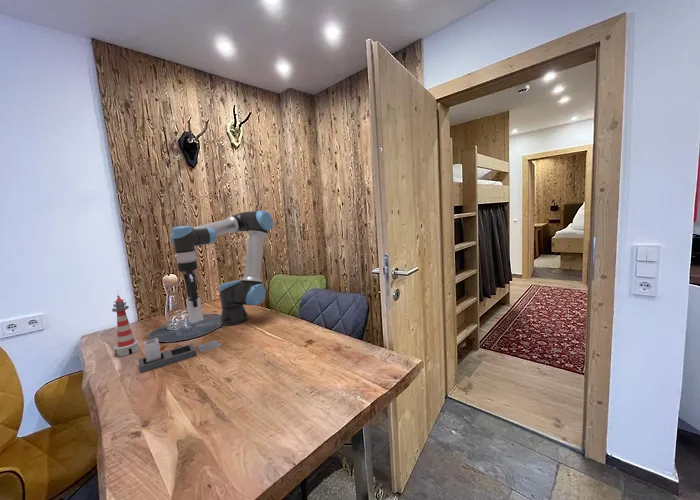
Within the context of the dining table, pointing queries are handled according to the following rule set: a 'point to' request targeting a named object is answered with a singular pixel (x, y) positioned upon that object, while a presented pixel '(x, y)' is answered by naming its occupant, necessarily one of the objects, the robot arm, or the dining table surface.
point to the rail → (168, 358)
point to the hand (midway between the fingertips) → (195, 312)
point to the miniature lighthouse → (123, 331)
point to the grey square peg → (192, 317)
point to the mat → (209, 346)
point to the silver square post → (152, 350)
